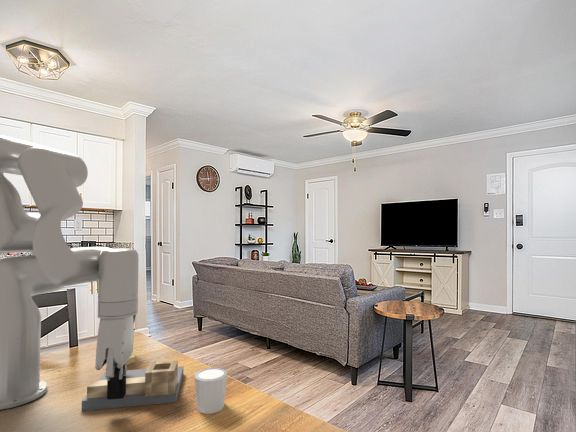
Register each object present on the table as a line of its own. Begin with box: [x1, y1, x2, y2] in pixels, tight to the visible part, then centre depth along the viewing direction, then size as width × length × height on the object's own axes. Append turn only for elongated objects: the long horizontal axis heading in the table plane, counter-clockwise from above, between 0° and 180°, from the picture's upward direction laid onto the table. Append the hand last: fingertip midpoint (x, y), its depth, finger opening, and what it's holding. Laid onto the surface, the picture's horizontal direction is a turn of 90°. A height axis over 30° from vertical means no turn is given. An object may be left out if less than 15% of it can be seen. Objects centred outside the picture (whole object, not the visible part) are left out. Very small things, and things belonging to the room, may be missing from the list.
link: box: [86, 360, 179, 398], centre depth 77 cm, size 18×6×5 cm, turn 101°
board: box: [81, 365, 185, 412], centre depth 82 cm, size 19×15×2 cm
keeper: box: [105, 354, 137, 365], centre depth 86 cm, size 7×5×6 cm
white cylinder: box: [193, 367, 228, 415], centre depth 75 cm, size 7×7×7 cm
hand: (116, 397), depth 72 cm, fingers closed
